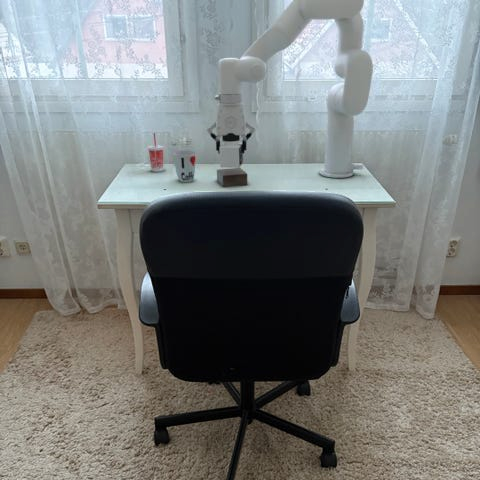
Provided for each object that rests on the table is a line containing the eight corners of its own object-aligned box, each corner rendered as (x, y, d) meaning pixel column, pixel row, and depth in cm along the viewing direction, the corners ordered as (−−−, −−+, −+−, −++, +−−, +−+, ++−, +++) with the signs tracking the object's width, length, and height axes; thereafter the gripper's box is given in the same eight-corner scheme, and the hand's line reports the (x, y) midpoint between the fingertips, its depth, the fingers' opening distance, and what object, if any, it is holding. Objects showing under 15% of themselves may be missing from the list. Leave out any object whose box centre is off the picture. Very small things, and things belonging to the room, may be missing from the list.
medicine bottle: (239, 167, 181) (239, 132, 175) (220, 167, 182) (218, 132, 176) (243, 162, 187) (242, 128, 181) (224, 162, 188) (222, 128, 182)
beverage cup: (166, 168, 206) (163, 131, 199) (164, 172, 201) (161, 134, 194) (150, 168, 206) (147, 131, 199) (148, 172, 201) (145, 134, 194)
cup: (179, 184, 186) (178, 156, 181) (171, 179, 192) (169, 151, 187) (200, 181, 189) (199, 153, 184) (191, 176, 196) (190, 149, 191)
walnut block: (240, 178, 192) (240, 167, 190) (247, 184, 185) (247, 173, 183) (216, 180, 190) (216, 169, 188) (223, 187, 183) (222, 175, 181)
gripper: (204, 100, 170) (206, 155, 179) (256, 100, 170) (256, 154, 179) (205, 98, 177) (207, 150, 185) (255, 97, 177) (255, 150, 186)
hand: (231, 152), depth 182 cm, fingers closed on medicine bottle, 8 cm apart
